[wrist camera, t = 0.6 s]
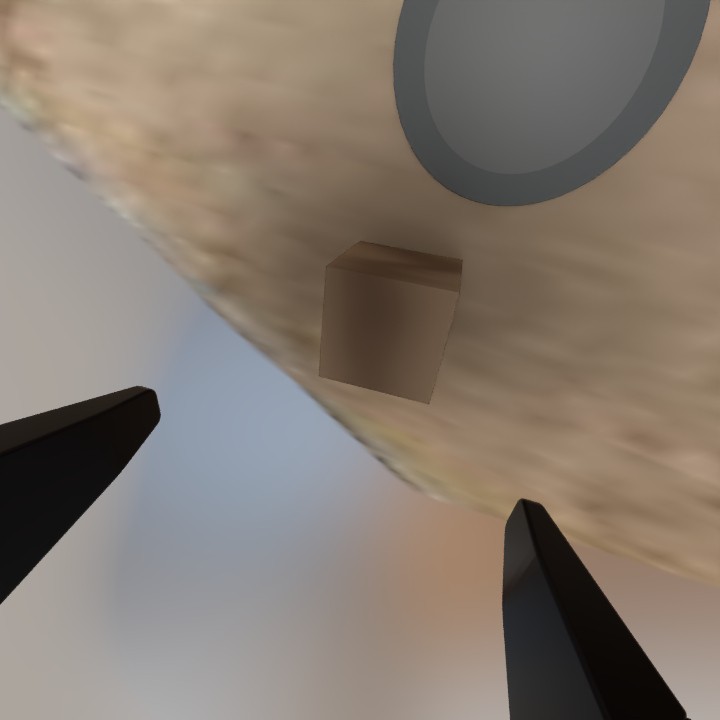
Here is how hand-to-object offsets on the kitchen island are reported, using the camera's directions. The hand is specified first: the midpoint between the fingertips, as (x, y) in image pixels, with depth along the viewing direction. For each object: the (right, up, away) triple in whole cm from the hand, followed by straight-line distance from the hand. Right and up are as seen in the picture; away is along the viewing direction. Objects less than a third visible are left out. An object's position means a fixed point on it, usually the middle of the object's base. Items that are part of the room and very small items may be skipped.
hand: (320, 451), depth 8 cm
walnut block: (+3, +5, +10) cm, 12 cm away
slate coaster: (+7, +13, +4) cm, 15 cm away
